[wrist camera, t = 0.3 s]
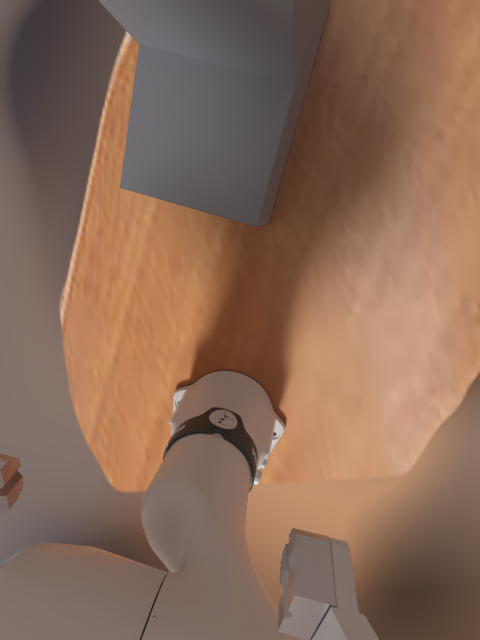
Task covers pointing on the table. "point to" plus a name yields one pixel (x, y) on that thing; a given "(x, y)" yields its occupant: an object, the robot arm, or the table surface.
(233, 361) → the table surface
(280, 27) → the grey l-shaped step block
